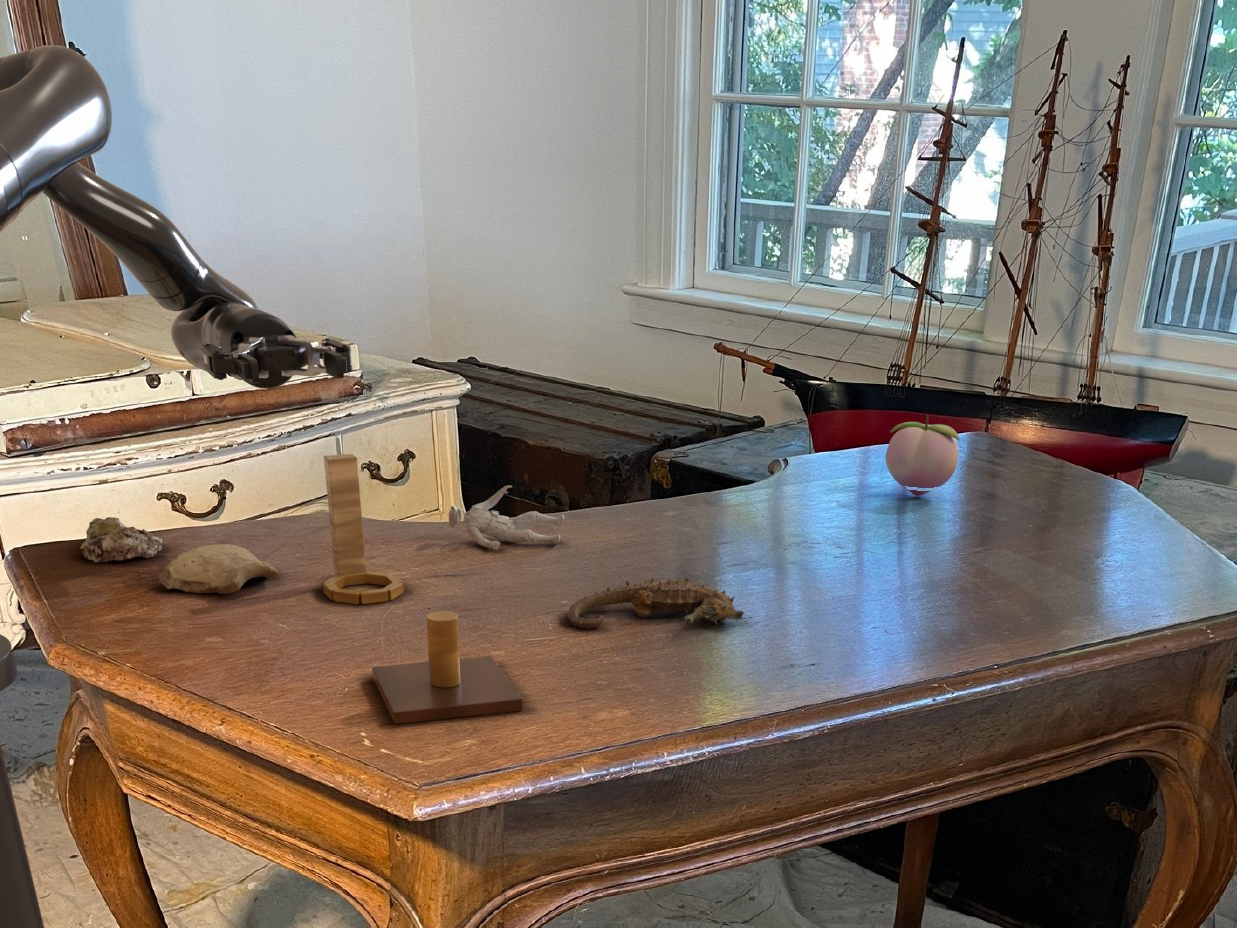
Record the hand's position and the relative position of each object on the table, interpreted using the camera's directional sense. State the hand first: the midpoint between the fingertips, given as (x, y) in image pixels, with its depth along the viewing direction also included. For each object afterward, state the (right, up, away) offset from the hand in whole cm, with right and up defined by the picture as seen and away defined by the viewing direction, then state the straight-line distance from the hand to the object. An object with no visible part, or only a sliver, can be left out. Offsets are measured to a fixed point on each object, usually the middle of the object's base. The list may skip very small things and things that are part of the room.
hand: (298, 369), depth 128 cm
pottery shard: (-6, -22, -1) cm, 23 cm away
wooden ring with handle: (+7, -23, -3) cm, 24 cm away
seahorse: (+36, -26, -7) cm, 45 cm away
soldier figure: (+19, -14, +14) cm, 28 cm away
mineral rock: (-20, -17, +7) cm, 27 cm away
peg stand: (+19, -36, -25) cm, 47 cm away
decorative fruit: (+70, -1, +40) cm, 80 cm away
